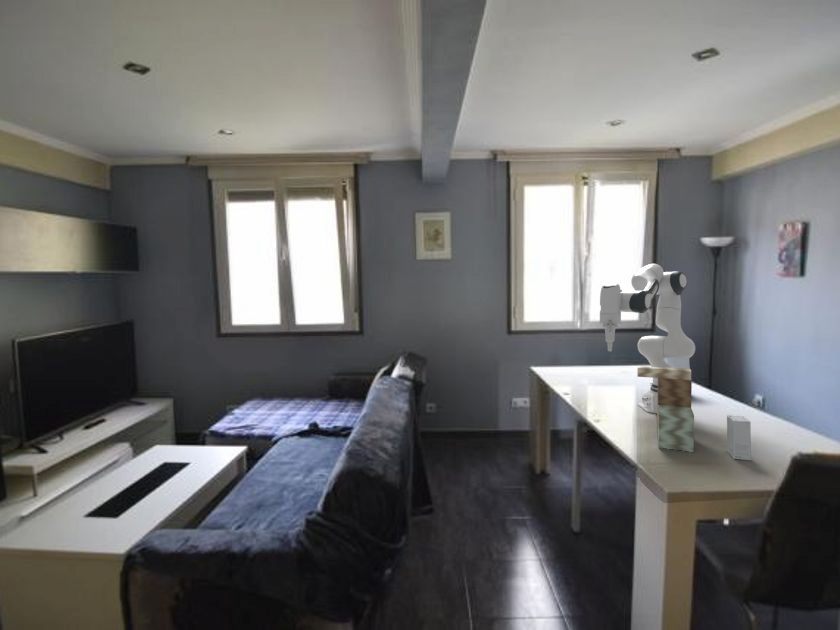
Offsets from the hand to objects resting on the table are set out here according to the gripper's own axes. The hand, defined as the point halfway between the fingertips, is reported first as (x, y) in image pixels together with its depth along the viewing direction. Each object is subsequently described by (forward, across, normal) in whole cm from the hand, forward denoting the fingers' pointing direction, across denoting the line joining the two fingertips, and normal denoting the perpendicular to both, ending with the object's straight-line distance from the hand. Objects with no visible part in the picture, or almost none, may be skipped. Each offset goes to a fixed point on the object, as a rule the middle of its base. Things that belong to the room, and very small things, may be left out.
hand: (609, 349), depth 198 cm
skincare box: (+37, -17, -46) cm, 61 cm away
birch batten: (+11, -4, -21) cm, 24 cm away
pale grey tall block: (+35, +77, -35) cm, 92 cm away
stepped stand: (+37, -9, -25) cm, 45 cm away
